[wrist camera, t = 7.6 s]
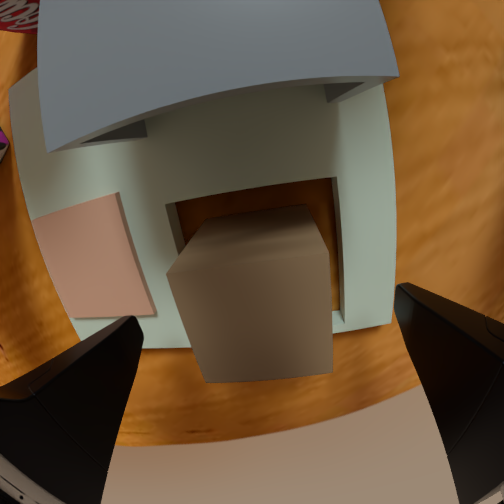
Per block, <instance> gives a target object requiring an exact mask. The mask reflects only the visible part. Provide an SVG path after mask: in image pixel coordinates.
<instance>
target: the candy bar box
mask: <svg viewBox="0 0 504 504" xmlns="http://www.w3.org/2000/svg"><path fill="white" fill-rule="evenodd" d="M8 146H9V142H8V139H7V138H6V136H5V134H4V133H3V131H2V129H1V127H0V163H1V161H2V159H3V157H4V155H5V152H6V150H7V148H8Z"/></svg>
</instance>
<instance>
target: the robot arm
mask: <svg viewBox="0 0 504 504" xmlns="http://www.w3.org/2000/svg"><path fill="white" fill-rule="evenodd" d="M394 311H395V314H396V317H397V320H398V323H399V326H400V329H401V332H402V336H403V339H404V342H405V345H406V348H407V350H408V353H409V355H410V357H411V360H412V362H413V364H414V367H415V369H416V371H417V374H418V376H419V379H420V381H421V384H422V386H423V388H424V391H425V394H426V396H427V399H428V401H429V404H430V407H431V409H432V412H433V415H434V417H435V420H436V423H437V426H438V429H439V432H440V435H441V438H442V441H443V444H444V447H445V451H446V454H447V455H448V456H447V458H448V461H449V464H450V468H451V472H452V475H453V479H454V483H455V487H456V491H457V495H458V499H459V504H478V503H480V502H481V501H483V500H485V499H487V498H489V497H490V496H492V495H494V494H495V493H497V492H499V491H501V494H502V497H503V500H502V501H501V502H499V503H498V504H504V324H503V323H501V322H499V321H496V320H494V319H492V318H490V317H488V316H486V317H485V315H483V314H481V313H478V312H476V311H474V310H472V309H469V308H467V307H465V306H463V305H460V304H458V303H456V302H453V301H451V300H449V299H446V298H444V297H442V296H439V295H437V294H435V293H432V292H430V291H428V290H425V289H423V288H420V287H418V286H416V285H413V284H411V283H408V282H406V283H400V284H397V286H396V288H395V300H394ZM143 342H144V334H143V331H142V329H141V327H140V324H139V322H138V320H137V318H136V317H135V316H134V315H125V316H123V317H121V318H120V319H118V320H116V321H114V322H113V323H111V324H109V325H108V326H106V327H104V328H103V329H101V330H99V331H98V332H96V333H94V334H93V335H91V336H89V337H88V338H86V339H84V340H83V341H81V342H79V343H77V344H76V345H74V346H72V347H71V348H69V349H67V350H66V351H64V352H62V353H61V354H59V355H57V356H56V357H55V358H52V359H51V360H49V361H47V362H46V363H44V364H42V365H41V366H39V367H37V368H35V369H34V370H32V371H30V372H28V373H26V374H24V375H23V376H21V377H19V378H17V379H15V380H13V381H11V382H9V383H7V384H5V385H3V386H0V504H101V500H102V495H103V490H104V486H105V482H106V477H107V473H108V472H107V471H108V468H109V465H110V461H111V457H112V453H113V449H114V446H115V442H116V438H117V435H118V431H119V428H120V424H121V421H122V417H123V414H124V411H125V407H126V404H127V401H128V398H129V395H130V391H131V388H132V385H133V382H134V379H135V376H136V372H137V368H138V364H139V359H140V355H141V350H142V346H143Z"/></svg>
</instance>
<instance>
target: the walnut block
mask: <svg viewBox="0 0 504 504" xmlns="http://www.w3.org/2000/svg"><path fill="white" fill-rule="evenodd" d="M166 276H167V279H168V282H169V286H170V289H171V292H172V295H173V297H174V300H175V303H176V306H177V309H178V312H179V315H180V318H181V320H182V323H183V326H184V329H185V331H186V334H187V337H188V339H189V342H190V345H191V347H192V350H193V352H194V355H195V357H196V360H197V362H198V365H199V367H200V370H201V372H202V375H203V377H204V379H205V382H206V383H227V382H248V381H263V380H275V379H285V378H295V377H303V376H311V375H319V374H326V373H332V372H333V328H332V297H331V277H330V260H329V252H328V249H327V247H326V245H325V243H324V241H323V239H322V236H321V234H320V232H319V230H318V228H317V226H316V224H315V222H314V220H313V217H312V215H311V213H310V211H309V209H308V207H307V205H306V204H303V205H295V206H288V207H281V208H274V209H267V210H260V211H253V212H247V213H240V214H234V215H228V216H221V217H215V218H209V219H206V220H205V221H204V222H203V224H202V225H201V226H200V228H199V229H198V230H197V232H196V233H195V234H194V236H193V237H192V238H191V240H190V241H189V242H188V244H187V245H186V247H185V248H184V249H183V251H182V252H181V253H180V255H179V256H178V257H177V259H176V260H175V262H174V263H173V264H172V266H171V267H170V269H169V270H168V271H167V273H166Z"/></svg>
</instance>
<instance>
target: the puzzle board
mask: <svg viewBox="0 0 504 504" xmlns="http://www.w3.org/2000/svg"><path fill="white" fill-rule="evenodd" d="M9 106H10V118H11V127H12V135H13V143H14V149H15V155H16V161H17V166H18V171H19V176H20V181H21V185H22V189H23V194H24V198H25V202H26V205H27V209H28V213H29V216H30V219H31V223H32V226H33V229H34V232H35V236H36V239H37V242H38V244H39V247H40V250H41V253H42V256H43V258H44V261H45V264H46V266H47V269H48V271H49V274H50V276H51V279H52V281H53V284H54V286H55V288H56V291H57V293H58V295H59V297H60V299H61V302H62V304H63V306H64V308H65V310H66V312H67V314H68V316H69V318H70V320H71V322H72V324H73V326H74V328H75V330H76V332H77V334H78V336H79V338H80V339H81V341H83V340H84V339H86V338H88V337H89V336H91V335H93V334H94V333H96V332H98V331H99V330H101V329H103V328H104V327H106V326H108V325H109V324H111V323H113V322H114V321H116V320H118V319H120V318H121V317H123V316H125V315H134V316H135V317H136V318H137V320H138V322H139V324H140V327H141V329H142V331H143V334H144V342H143V346H142V348H185V347H191V345H190V342H189V339H188V337H187V334H186V331H185V329H184V326H183V323H182V320H181V318H180V315H179V312H178V309H177V306H176V303H175V300H174V297H173V295H172V292H171V289H170V286H169V282H168V279H167V276H166V273H167V271H168V270H169V269H170V267H171V266H172V264H173V263H174V262H175V260H176V259H177V257H178V256H179V255H180V253H181V252H182V251H183V249H184V248H185V247H186V245H185V241H184V237H183V233H182V229H181V225H180V221H179V217H178V213H177V209H176V205H175V202H178V201H183V200H188V199H193V198H198V197H203V196H209V195H214V194H220V193H225V192H231V191H237V190H243V189H249V188H255V187H262V186H268V185H275V184H282V183H289V182H297V181H304V180H312V179H320V178H329V177H331V180H332V188H333V198H334V208H335V219H336V232H337V246H338V263H339V285H340V310H338V311H332V328H333V333H339V332H345V331H351V330H357V329H363V328H368V327H373V326H378V325H383V324H388V323H391V318H392V309H393V298H394V285H395V267H396V192H395V175H394V162H393V151H392V142H391V133H390V125H389V118H388V111H387V105H386V99H385V93H384V88H383V83H382V84H380V85H378V86H375V87H373V88H371V89H368V90H366V91H364V92H362V93H359V94H357V95H355V96H353V97H350V98H348V99H346V100H344V101H342V102H337V103H327V100H326V94H325V89H324V84H315V85H304V86H295V87H286V88H278V89H271V90H264V91H258V92H252V93H246V94H241V95H235V96H230V97H225V98H221V99H216V100H212V101H207V102H203V103H199V104H195V105H191V106H187V107H183V108H180V109H176V110H172V111H169V112H165V113H162V114H159V115H156V116H152V117H149V118H146V119H144V120H145V126H146V131H147V136H148V137H147V138H143V139H140V140H137V141H127V142H118V143H109V144H102V145H94V146H87V147H81V148H75V149H69V150H63V151H58V152H52V153H47V150H46V144H45V138H44V132H43V125H42V117H41V109H40V99H39V87H38V67H37V68H35V69H34V70H32V71H31V72H30V73H28V74H27V75H26V76H24V77H23V78H22V79H21V80H19V81H18V82H17V83H16V84H14V85H13V86H12V87H11V88H9Z"/></svg>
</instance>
